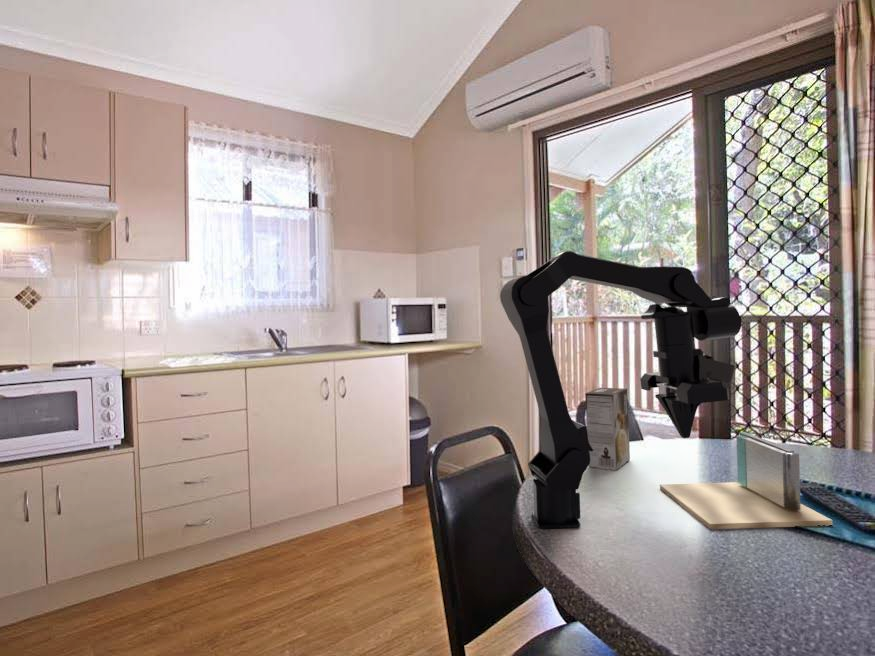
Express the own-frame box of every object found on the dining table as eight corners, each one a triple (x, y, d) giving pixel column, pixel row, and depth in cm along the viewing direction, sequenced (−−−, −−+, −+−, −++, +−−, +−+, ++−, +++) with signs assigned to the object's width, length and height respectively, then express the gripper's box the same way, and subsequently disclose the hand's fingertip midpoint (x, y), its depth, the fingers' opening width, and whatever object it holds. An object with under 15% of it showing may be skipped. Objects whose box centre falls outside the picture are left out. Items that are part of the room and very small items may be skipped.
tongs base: (710, 529, 76) (708, 464, 76) (658, 487, 95) (656, 435, 95) (832, 525, 76) (830, 460, 75) (755, 484, 95) (754, 431, 94)
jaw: (789, 510, 79) (787, 455, 79) (737, 482, 92) (736, 435, 92) (803, 510, 79) (801, 454, 79) (749, 482, 92) (748, 435, 92)
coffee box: (602, 456, 117) (599, 386, 116) (630, 460, 113) (628, 388, 113) (587, 466, 109) (584, 392, 109) (617, 471, 106) (614, 394, 105)
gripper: (759, 340, 75) (770, 445, 75) (695, 337, 93) (704, 421, 94) (684, 348, 75) (695, 453, 75) (635, 343, 94) (644, 428, 94)
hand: (685, 437), depth 84 cm, fingers closed
